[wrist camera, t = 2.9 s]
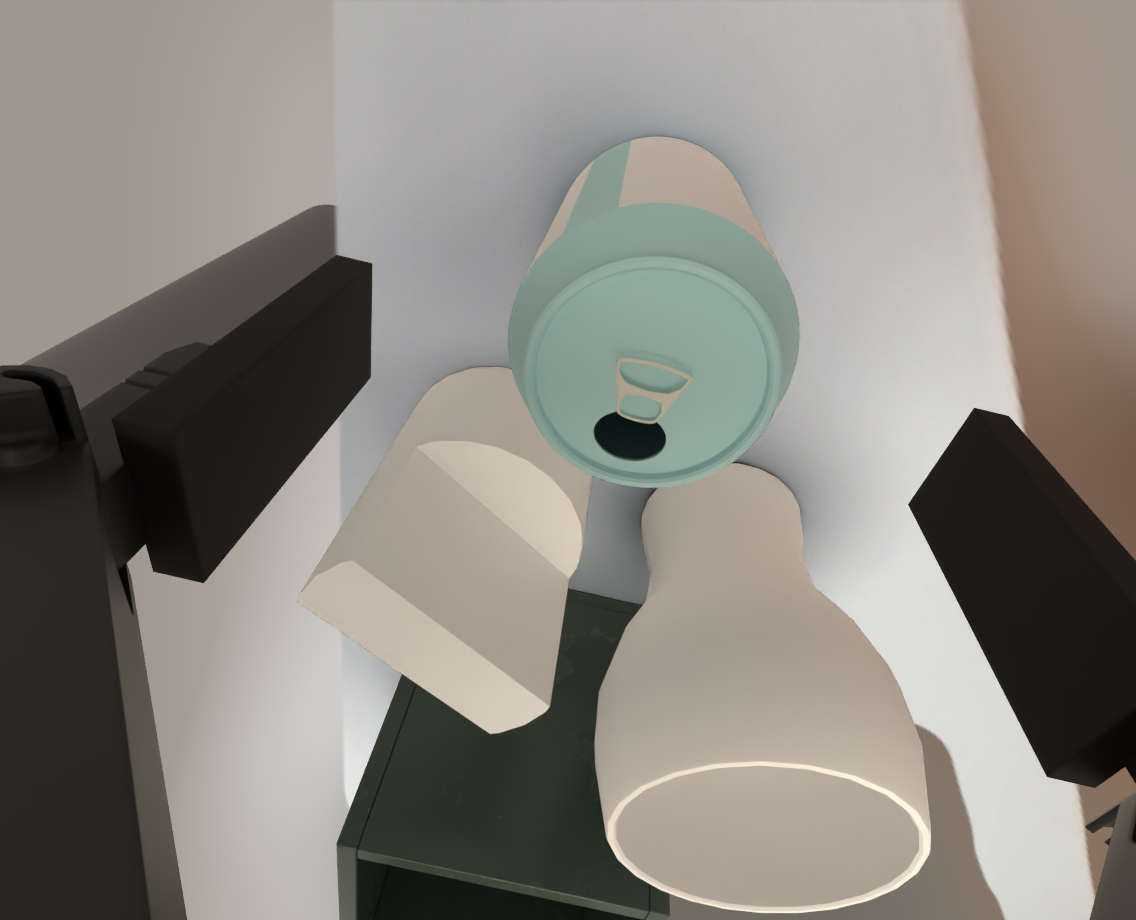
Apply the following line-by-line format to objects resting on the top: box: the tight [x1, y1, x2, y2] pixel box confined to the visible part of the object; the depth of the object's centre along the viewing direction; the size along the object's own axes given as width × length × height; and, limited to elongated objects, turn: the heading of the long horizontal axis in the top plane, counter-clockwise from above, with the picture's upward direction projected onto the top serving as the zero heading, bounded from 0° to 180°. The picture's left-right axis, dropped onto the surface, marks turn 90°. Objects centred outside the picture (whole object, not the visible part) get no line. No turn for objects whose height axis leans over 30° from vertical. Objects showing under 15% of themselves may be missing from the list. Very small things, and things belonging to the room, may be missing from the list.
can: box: [508, 137, 800, 488], centre depth 19 cm, size 7×7×12 cm
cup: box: [594, 463, 931, 913], centre depth 25 cm, size 11×11×15 cm
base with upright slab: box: [297, 367, 592, 734], centre depth 25 cm, size 9×9×12 cm
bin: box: [337, 589, 670, 920], centre depth 33 cm, size 15×13×15 cm
